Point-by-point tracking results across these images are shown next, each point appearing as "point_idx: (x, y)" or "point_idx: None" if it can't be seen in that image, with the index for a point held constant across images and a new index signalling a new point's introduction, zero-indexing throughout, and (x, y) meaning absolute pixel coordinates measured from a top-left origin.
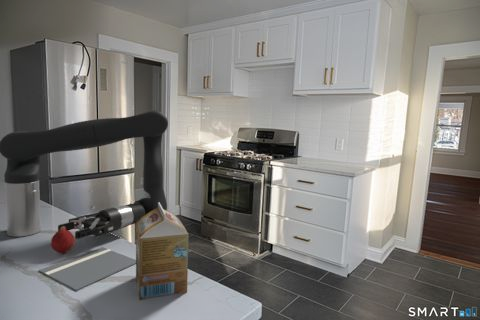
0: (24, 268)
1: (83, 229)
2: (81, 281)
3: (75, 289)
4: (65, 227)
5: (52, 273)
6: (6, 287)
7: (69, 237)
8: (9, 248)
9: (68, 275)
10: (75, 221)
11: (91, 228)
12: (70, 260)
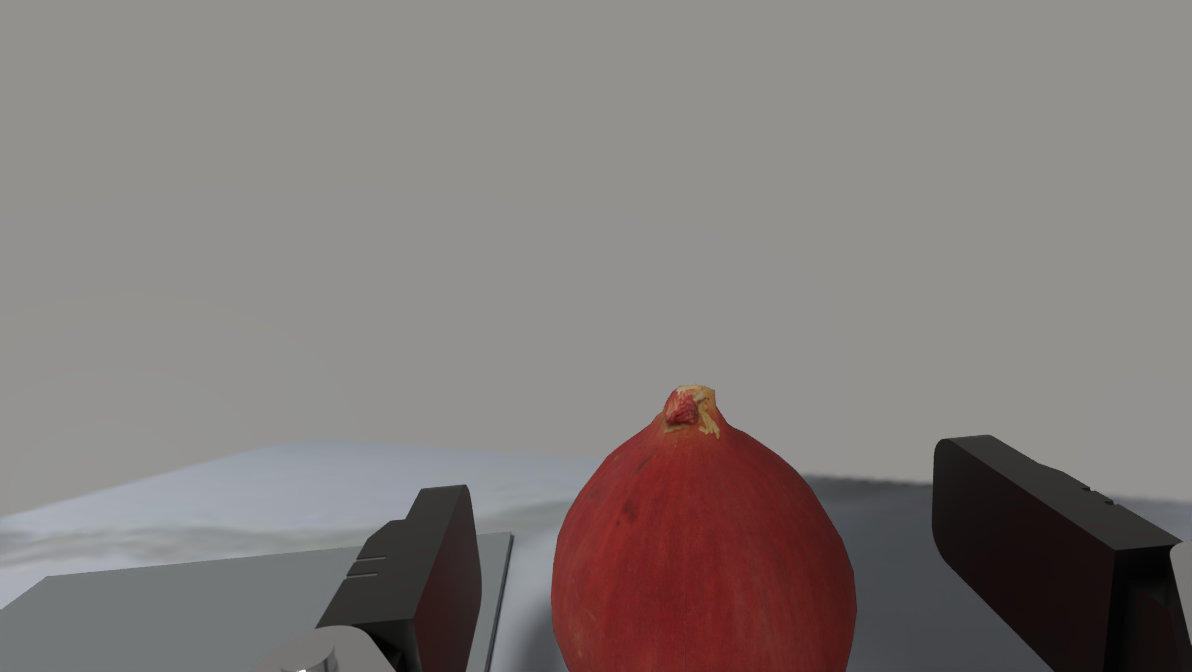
0: None
1: (416, 550)
2: (56, 621)
3: (59, 575)
4: (673, 409)
5: None
6: (485, 454)
7: (567, 540)
8: (1155, 515)
9: (228, 602)
10: (1182, 607)
11: (276, 652)
12: None
